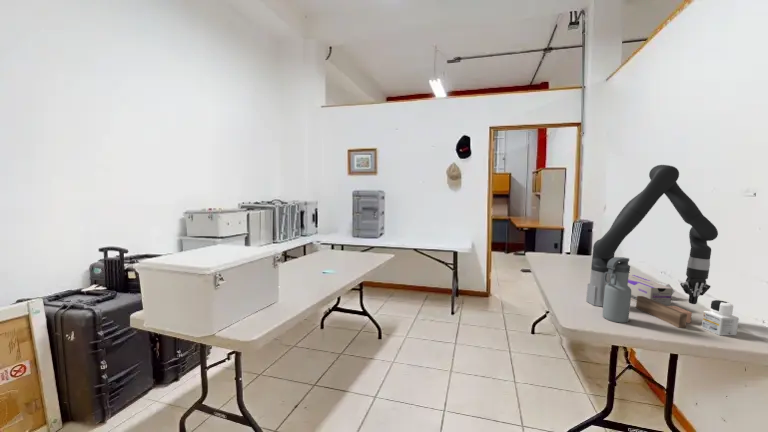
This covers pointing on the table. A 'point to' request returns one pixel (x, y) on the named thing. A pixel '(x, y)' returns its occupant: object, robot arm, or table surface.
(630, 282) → the surgical sutures box
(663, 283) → the die
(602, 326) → the table surface
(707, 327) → the container
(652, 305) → the stop board
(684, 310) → the block
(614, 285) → the water bottle
